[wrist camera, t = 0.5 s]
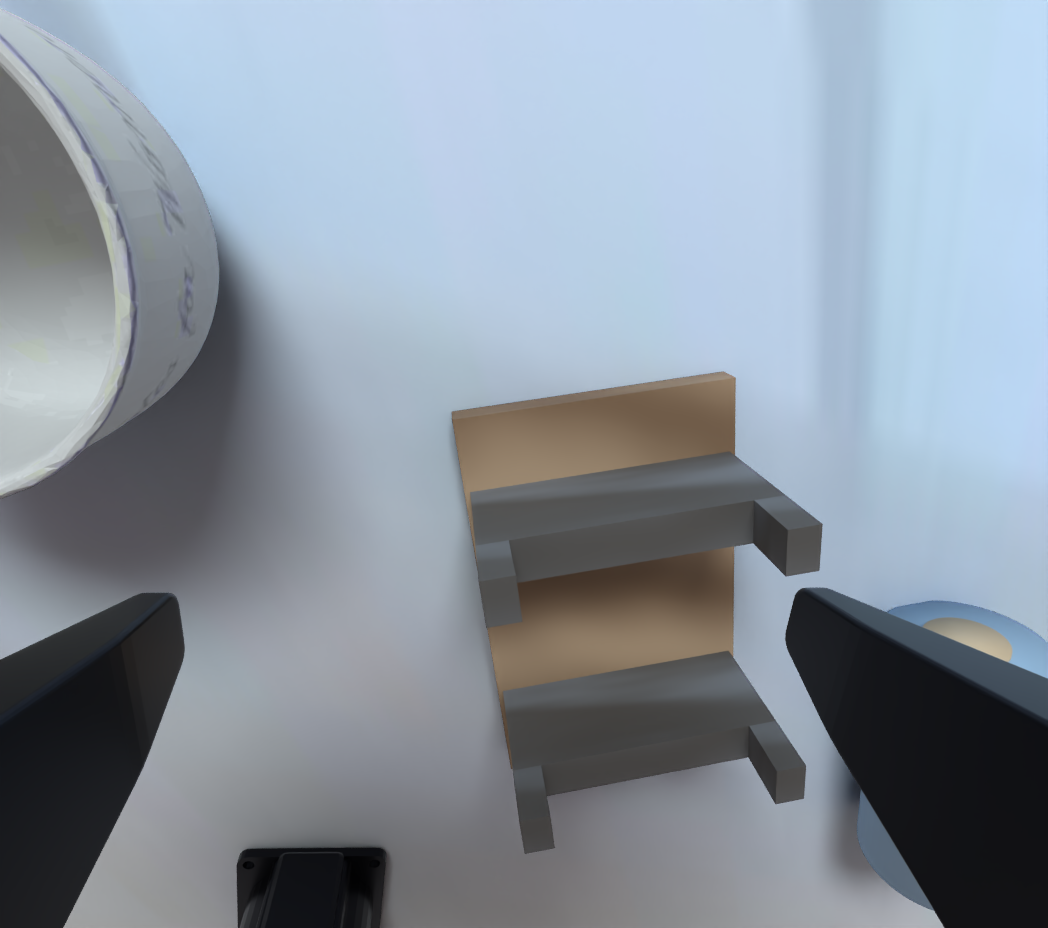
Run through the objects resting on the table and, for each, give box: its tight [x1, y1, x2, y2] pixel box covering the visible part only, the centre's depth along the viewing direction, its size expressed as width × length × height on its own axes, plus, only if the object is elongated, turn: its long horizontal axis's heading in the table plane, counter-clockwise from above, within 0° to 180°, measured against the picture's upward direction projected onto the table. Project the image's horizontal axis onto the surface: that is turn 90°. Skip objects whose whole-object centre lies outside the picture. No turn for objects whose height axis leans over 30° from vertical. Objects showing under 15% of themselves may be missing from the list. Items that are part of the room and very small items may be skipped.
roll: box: [857, 601, 1048, 910], centre depth 27 cm, size 12×6×6 cm, turn 7°
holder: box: [452, 372, 822, 854], centre depth 22 cm, size 16×10×7 cm, turn 7°
